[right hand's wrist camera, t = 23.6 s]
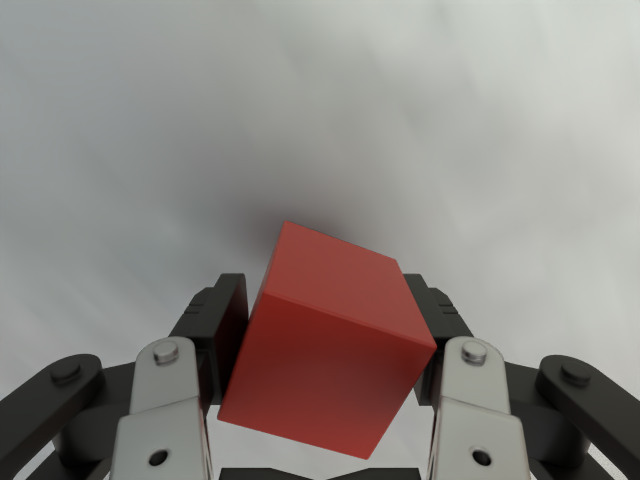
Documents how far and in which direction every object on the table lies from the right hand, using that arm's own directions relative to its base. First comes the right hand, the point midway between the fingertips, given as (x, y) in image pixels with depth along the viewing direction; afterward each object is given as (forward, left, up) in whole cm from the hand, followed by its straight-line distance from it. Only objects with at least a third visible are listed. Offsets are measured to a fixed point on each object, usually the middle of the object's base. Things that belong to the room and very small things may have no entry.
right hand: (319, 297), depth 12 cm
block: (0, 0, -1) cm, 1 cm away
